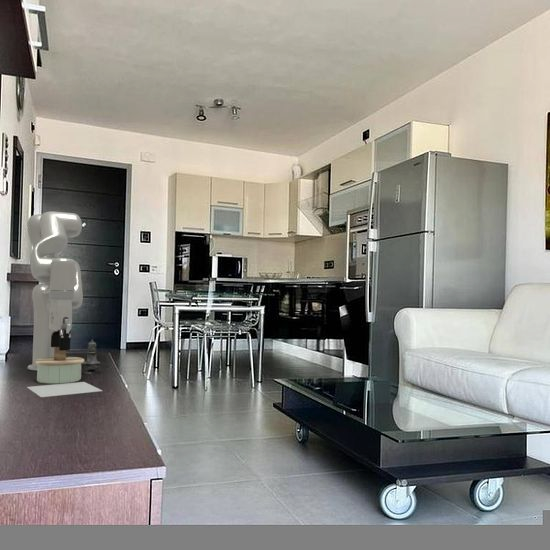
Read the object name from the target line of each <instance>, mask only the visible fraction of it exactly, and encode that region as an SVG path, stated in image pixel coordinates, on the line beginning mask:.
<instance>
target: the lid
mask: <svg viewBox="0 0 550 550" xmlns="http://www.w3.org/2000/svg"><path fill="white" fill-rule="evenodd" d="M83 362H85V358H83V357H78V356H67V350H64V351H60V350H59V347H55V348H54V357H48V358H40V359H36V360H35V362H34V363H35V364H37V365H46V366H62V365H74V364H80V363H81V364H83Z"/></svg>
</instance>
